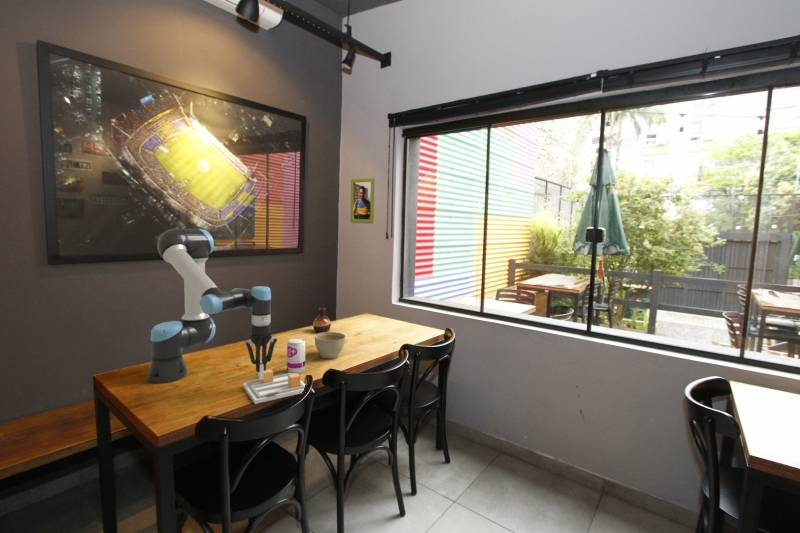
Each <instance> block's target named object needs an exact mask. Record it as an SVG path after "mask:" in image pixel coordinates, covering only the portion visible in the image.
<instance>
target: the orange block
mask: <svg viewBox="0 0 800 533" xmlns="http://www.w3.org/2000/svg"><path fill="white" fill-rule="evenodd" d="M273 376H274V370H272V368H269V369H266V371H264V379H263V380H261V382H262V383H263V384H264V383H269V382H273Z"/></svg>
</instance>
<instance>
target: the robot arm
mask: <svg viewBox="0 0 800 533" xmlns="http://www.w3.org/2000/svg"><path fill="white" fill-rule="evenodd" d="M156 244H157V245H156V247H157V252H158V254H159V255H160V258H162V259H163V261H165V262H166V263H169V264H170V265H171V266H172V267H173V268H174V269H175V270H176V271H177V273H178V274H179V275H180V276H181V278H182V279H183V280H184V281H183V287H184V288H183V289H184V314H183V315H182V316H181V321H178V320H170V321H165V322H160V323H158V324H156V325H155V326H153V327H152V329H151V330H150V348H151V349H150V352H151V355H150V356H151V361H150V365H149V367H148V370H147V374H146V380H147V382H150V383H154V384H156V383H157V384H161V383H171V382H175V381H178V380H181V379H183V378H184V377H186V376H187V374H188V367H187V365H186V362H185V359H184V357H183V350H185V349H189V348H192V347H195V346H200V345H204V344H206V343H208V342H210V341H211V340H213V338H214V336H215V335H216V328H217V327H216V324H215V323H214V320H213V318H212V317H211V316H210V315H212V314H219V313H222V312H228V311H231V310H237V309H242V308H247V309H250V310H251V331H250V332H251V334H250V335H251V336H250V338H249V339H248V340H247V341H244V345H245V346H246V347H247V351H248V355H249V358H250V362H251V363H252V364H253V365H255V371H256V372H257V376H258V377H257V378H258V379H260V380H263V379H264V371H266V370H267V364H268V363H269V362H271V360H272V357H273V353H274V348H275V345H276V343H277V342H278V339H277V338H276V337H273V336H272V334H271V331H272V330H271V329H272V328H271V326H272V325H271V317H272V316H271V315H272V314H271V311H272V310H271V309H272V307H271V305H272V304H271V302H272V292H271V288H270V287H269V286H262V285H261V286H252V288H251V289H246V288H242V287H241V288H240V287H239V288H237V287H236V288H233V289H232V290H230V291H223V292H222V290H221V289H220V288H219V287H218V286H217V285H216V283H215V282H214V281H213V280H212V279H211V278H210V277H209V276H208V274H206V261H207V260H208V259H209V254H211V253H212V252H213V250H214V248H215V241H214V238H213V236H212V234H210V232H209V231H208V230H206V229H203V228H202V229H201V228H170V229H167V230H166V231H164V232H162V233H161V234H160V236H159V237H158V239H157V242H156ZM269 342H270V343H269ZM252 344H253V345H254V348H255V355H254V351H253V348H252ZM268 344H269V347H268V346H267V345H268ZM267 348H268V350H267Z"/></svg>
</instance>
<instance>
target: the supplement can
mask: <svg viewBox="0 0 800 533" xmlns="http://www.w3.org/2000/svg"><path fill="white" fill-rule="evenodd" d="M286 344H287V345H286V347H287V348H286V349H287V350H286V372H287V373H292V374H293V373H294V374H296V373H298V374H299V375H301V374H303V373H304V372H305V371H306V341H305V339H304V338H290V339H289V340H288V341H287V343H286Z"/></svg>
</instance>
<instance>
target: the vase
mask: <svg viewBox="0 0 800 533" xmlns="http://www.w3.org/2000/svg"><path fill="white" fill-rule="evenodd" d="M326 310H327V309H326V307H319V308H318V313H319V314H318V316H317V317H316V318H315V319H314V320H313V323H312V326H313V331H314V332H315V333H316V334H319V333H323V332H330V329H331V326H332V324H331V320H330V318H329V317H328V316H326Z"/></svg>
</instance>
